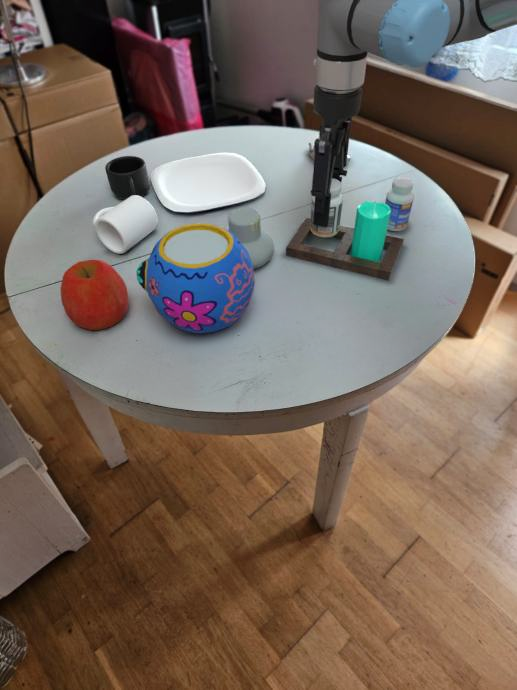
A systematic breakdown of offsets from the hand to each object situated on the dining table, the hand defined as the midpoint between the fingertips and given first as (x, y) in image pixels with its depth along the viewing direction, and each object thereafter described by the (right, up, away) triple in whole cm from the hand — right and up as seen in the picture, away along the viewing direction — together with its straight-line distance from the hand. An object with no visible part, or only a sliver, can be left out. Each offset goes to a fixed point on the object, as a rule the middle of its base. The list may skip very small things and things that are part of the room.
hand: (326, 215), depth 90 cm
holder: (+4, -6, +4) cm, 8 cm away
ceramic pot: (-22, -20, -8) cm, 31 cm away
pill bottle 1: (0, -2, +3) cm, 4 cm away
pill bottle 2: (+16, +1, +10) cm, 19 cm away
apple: (-41, -20, -7) cm, 46 cm away
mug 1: (-43, +10, +20) cm, 48 cm away
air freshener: (-15, -8, +3) cm, 18 cm away
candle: (+8, -7, +3) cm, 11 cm away
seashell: (+4, +23, +31) cm, 38 cm away
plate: (-25, +13, +23) cm, 37 cm away
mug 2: (-41, -3, +9) cm, 42 cm away
